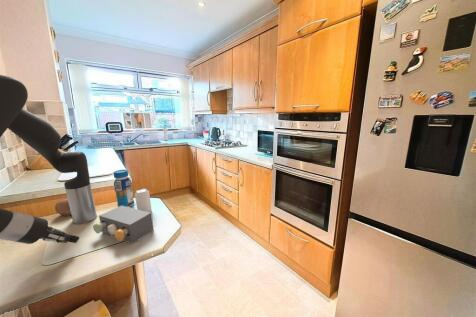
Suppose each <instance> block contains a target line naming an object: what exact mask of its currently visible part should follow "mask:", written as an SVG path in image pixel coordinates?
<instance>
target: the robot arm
mask: <svg viewBox="0 0 476 317" xmlns="http://www.w3.org/2000/svg"><path fill="white" fill-rule="evenodd" d="M28 95H29V93H28V89H27V87H26V85H25V84H24V83H23V82H21V81H20V80H19V79H17V78H14V77H11V76H9V75H3V74H0V138H1V137H2V136H3V135H4V133H5V132H6V131H7V130H9V131H10V132H12V133H13V134H14V135H16V136H17V137H18V138H19V139H21V141H22V142H24V143H25V144H26V145H28V146H29V147H30V148H32V149H33V150H35V151H36V152H37V153H39V155H41V156H42V158H44V159H45V160H46V161H47V162H48V163H49V164H50V165H51V167H53V168H54V170H56V171H57V172H58V173H61V174H70V173H76V176H75V177H73V178H71V179H67V180H66V181H65V182H64V184H63V185H64V189H65V190H64V191H65V195H66V197H67V198H68V202H69V207H70V211H71V215H70V216H71V218H72V223H73V224H74V225H79V224H80V225H81V224H85V223H88V222H91V221H93V220H95V219H96V218H97V216H98V215H97V210H96V206H95V200H94V195H93V190H92V186H91V182H90V180H91V179H90V171H89V165H88V159H87V156H86V154H85V153H84V152H83V151H72V152H61V151H60V150H59V148H60V147H61V144H62V138H61V135H60V133H59V132H58V130H56V129H55V128H54V127H53V126H52V125H51V124H50V123H49V122H48V121H46V120H45V119H43V118H41V117H39V116H37V115H36V114H34V113H32V112H30V111H28V110H27V109H25V108H24V107H25V105H26V103H27V101H28V98H29V96H28ZM40 239H41V240H42V241H45V242H54V243H57V244H58V243H61V244H62V243H63V244H65V243H72V244H77V243H78V241H79V240H80V236H77V235H73V234H70V233H67V232H65V231H63V230H61V229H57V228H55V227H52V226H49V221H48V220H47V219H46V218H41V217H38V216H36V215H30V214H26V213H24V212H23V213H22V212H17V211H12V210H7V209H3V208H1V207H0V240H3V241H7V242H8V241H10V242H13V243H21V244H26V245H31V244H34V243H36V242H38V241H39V240H40Z"/></svg>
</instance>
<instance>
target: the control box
mask: <svg viewBox="0 0 476 317" xmlns="http://www.w3.org/2000/svg"><path fill="white" fill-rule="evenodd" d="M98 218H99V222H100V223H103V222H105V221H106V222H107V225H108V226H109V225H111V224H116V225H117V227H118V230H119V229H121V230H123V229H125V228H128V230H129V233H128V234H127V235H125V238H124V239H123V240H122V241H125V242H128V243H131V244H134V243H136V242H137V241H139V240H140V239H142V238H143V237H145V236H146V235H148V234H150V233H151V232H152V231H154V223H153V217H152V212H146V211H142V210H138V209H137V208H132V207H131V206H130V207H126V206H119V207H118V206H117V207H115V208H114V209H110V210H108V211H106V212H104V213H102V214H100V215H99V216H98ZM101 233H103V234H106V235H108V236H112V237H113V238H115V236H114V234H113V235H111V234H110V233H109V232H108V229H107V227H106V228H104V230H103V231H102V232H101Z"/></svg>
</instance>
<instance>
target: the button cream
mask: <svg viewBox="0 0 476 317" xmlns="http://www.w3.org/2000/svg"><path fill="white" fill-rule="evenodd" d="M107 229H108V232H109V233H110V234H111V235H113V234H114V232H115V231H117V230H118V227H117V225H116V224H111V225H109V226H108V227H107ZM111 235H110V236H111Z"/></svg>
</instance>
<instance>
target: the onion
mask: <svg viewBox="0 0 476 317" xmlns="http://www.w3.org/2000/svg"><path fill="white" fill-rule="evenodd" d="M54 209H55V212H56V213H58V214H59V215H60V216H63V217H67V216H72V215H71V211H70V207H69V202H68V198H67V196H66V197H64V198H62V199H60V200H58V201H57V202H56V203H55V207H54Z"/></svg>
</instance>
